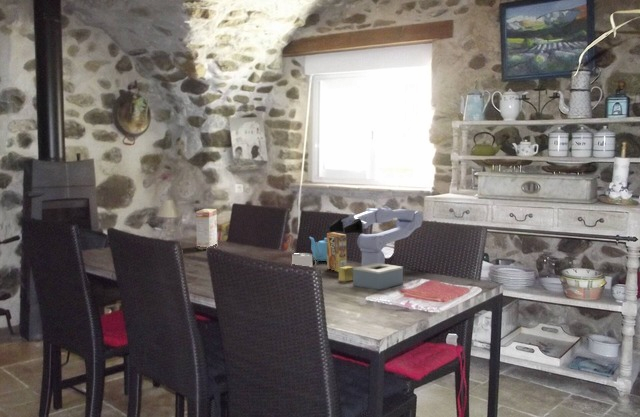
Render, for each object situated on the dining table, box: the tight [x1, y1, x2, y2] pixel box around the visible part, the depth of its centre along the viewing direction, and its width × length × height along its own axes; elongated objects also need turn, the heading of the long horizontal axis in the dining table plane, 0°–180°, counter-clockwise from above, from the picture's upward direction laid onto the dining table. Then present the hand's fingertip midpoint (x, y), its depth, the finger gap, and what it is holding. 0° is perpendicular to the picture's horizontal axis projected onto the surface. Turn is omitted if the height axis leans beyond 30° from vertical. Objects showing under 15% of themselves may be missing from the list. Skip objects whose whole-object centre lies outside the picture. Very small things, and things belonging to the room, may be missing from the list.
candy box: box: [326, 231, 347, 273], centre depth 254 cm, size 9×4×15 cm, turn 33°
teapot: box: [308, 236, 327, 263], centre depth 277 cm, size 15×15×10 cm
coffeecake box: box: [195, 208, 218, 248], centre depth 313 cm, size 15×7×20 cm, turn 174°
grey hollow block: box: [352, 263, 404, 291], centre depth 226 cm, size 14×12×6 cm
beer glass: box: [291, 252, 313, 267], centre depth 203 cm, size 7×7×15 cm
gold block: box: [338, 265, 354, 283], centre depth 234 cm, size 5×3×5 cm, turn 136°
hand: (337, 229), depth 232 cm, fingers open, 7 cm apart
